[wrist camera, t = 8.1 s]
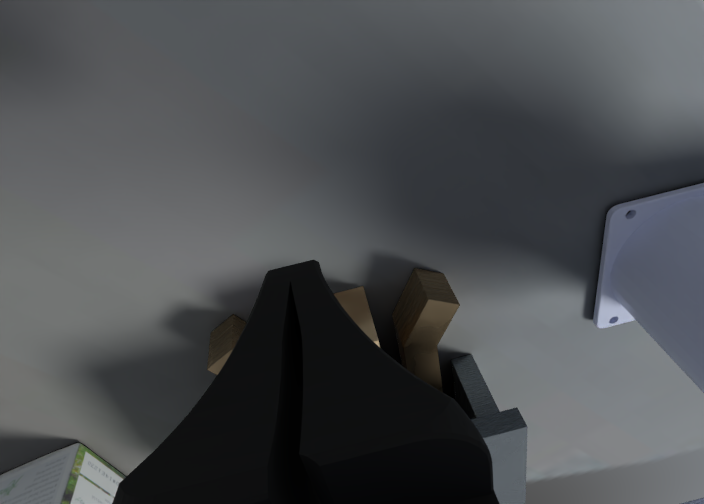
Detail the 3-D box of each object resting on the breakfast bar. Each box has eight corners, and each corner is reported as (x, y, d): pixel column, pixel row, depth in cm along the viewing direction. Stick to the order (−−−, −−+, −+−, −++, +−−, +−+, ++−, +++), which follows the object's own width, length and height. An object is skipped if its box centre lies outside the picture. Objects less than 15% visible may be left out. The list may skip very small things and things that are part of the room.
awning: (464, 255, 24) (529, 361, 19) (475, 408, 31) (524, 519, 26) (182, 327, 24) (159, 457, 18) (257, 465, 31) (257, 591, 25)
